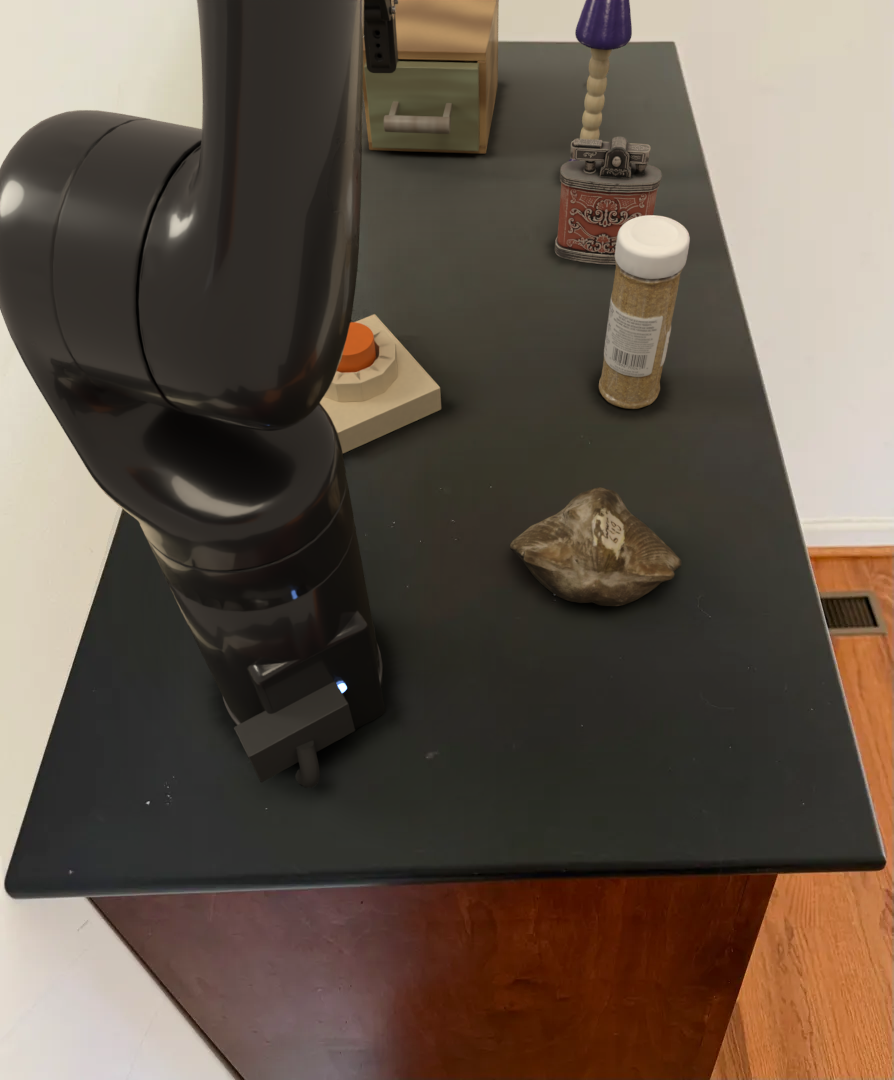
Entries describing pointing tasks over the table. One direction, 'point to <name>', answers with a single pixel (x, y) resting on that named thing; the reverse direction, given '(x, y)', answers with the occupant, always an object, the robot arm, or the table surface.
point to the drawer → (425, 105)
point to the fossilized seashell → (596, 552)
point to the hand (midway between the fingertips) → (383, 68)
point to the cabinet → (450, 47)
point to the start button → (358, 349)
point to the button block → (380, 392)
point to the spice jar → (642, 308)
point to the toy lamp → (600, 53)
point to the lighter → (602, 196)
